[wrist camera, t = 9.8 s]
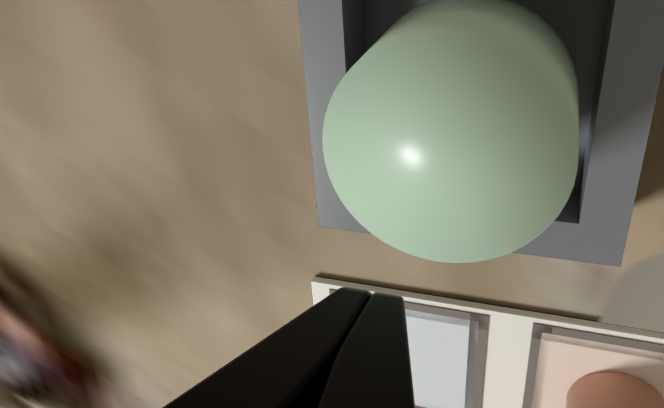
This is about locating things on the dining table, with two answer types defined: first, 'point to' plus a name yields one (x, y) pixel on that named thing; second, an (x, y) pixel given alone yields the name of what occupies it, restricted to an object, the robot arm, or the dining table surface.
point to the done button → (457, 131)
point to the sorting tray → (509, 351)
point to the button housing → (594, 107)
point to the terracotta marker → (613, 392)
